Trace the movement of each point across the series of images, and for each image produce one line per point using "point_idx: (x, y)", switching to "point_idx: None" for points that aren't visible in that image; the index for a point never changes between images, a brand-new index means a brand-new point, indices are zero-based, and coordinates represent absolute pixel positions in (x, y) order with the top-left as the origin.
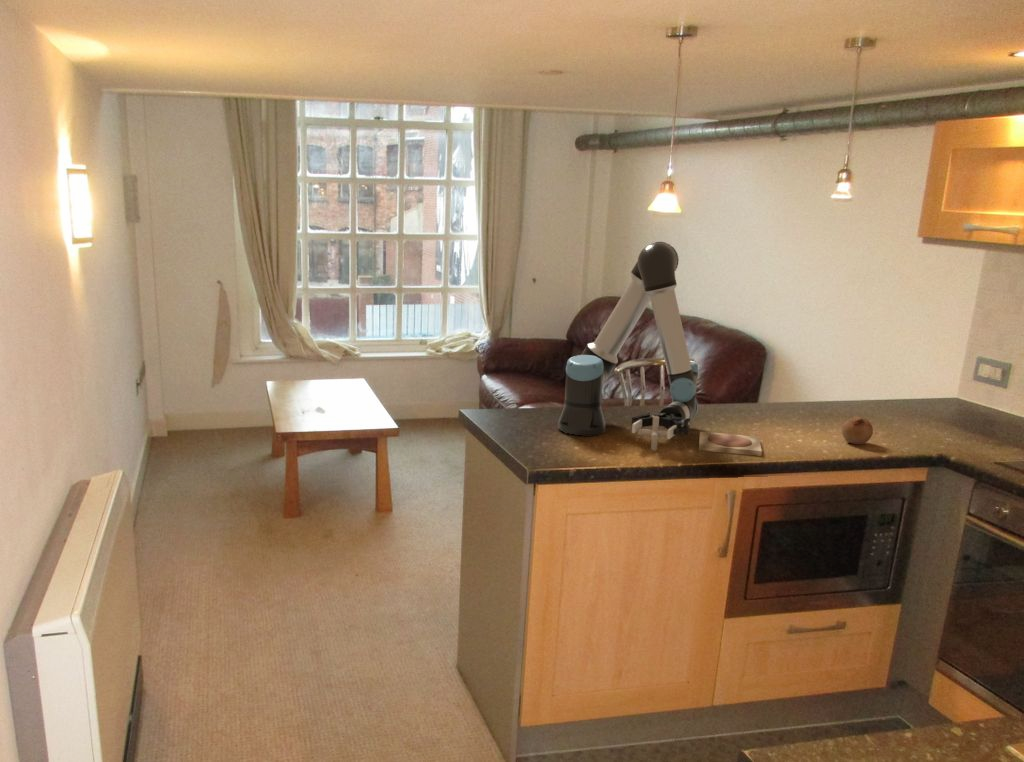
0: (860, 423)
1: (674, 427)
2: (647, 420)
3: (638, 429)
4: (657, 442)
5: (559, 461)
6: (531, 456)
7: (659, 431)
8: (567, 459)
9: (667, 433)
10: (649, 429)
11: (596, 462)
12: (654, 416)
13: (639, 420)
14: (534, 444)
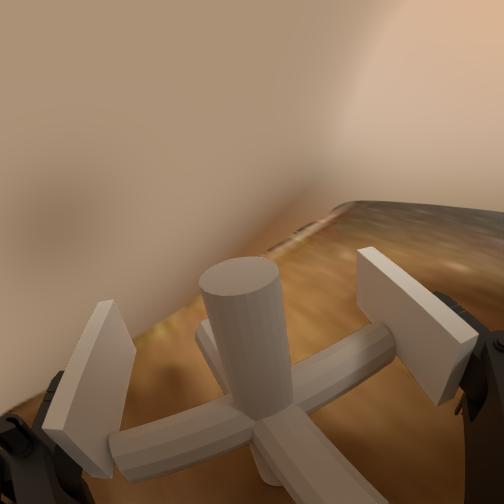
0: None
1: (67, 372)
2: (494, 449)
3: (371, 323)
4: (253, 457)
5: (371, 222)
6: (420, 211)
7: (218, 399)
8: (375, 230)
9: (122, 322)
10: (309, 366)
11: (321, 250)
12: (265, 271)
13: (445, 313)
14: (496, 231)
